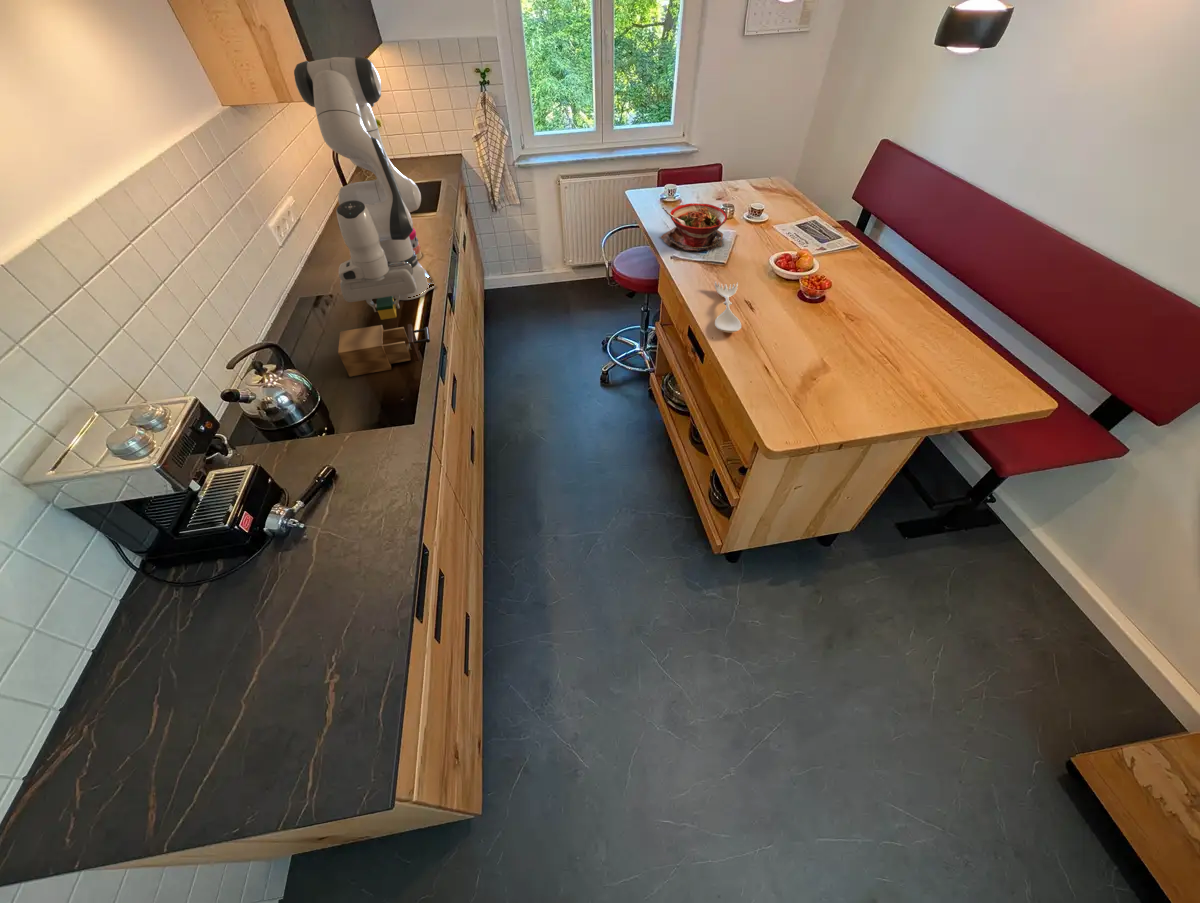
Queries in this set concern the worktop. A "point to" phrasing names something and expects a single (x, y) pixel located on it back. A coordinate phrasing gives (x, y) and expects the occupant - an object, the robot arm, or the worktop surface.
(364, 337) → the cabinet
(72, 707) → the worktop surface
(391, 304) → the sponge
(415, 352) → the drawer
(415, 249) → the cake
